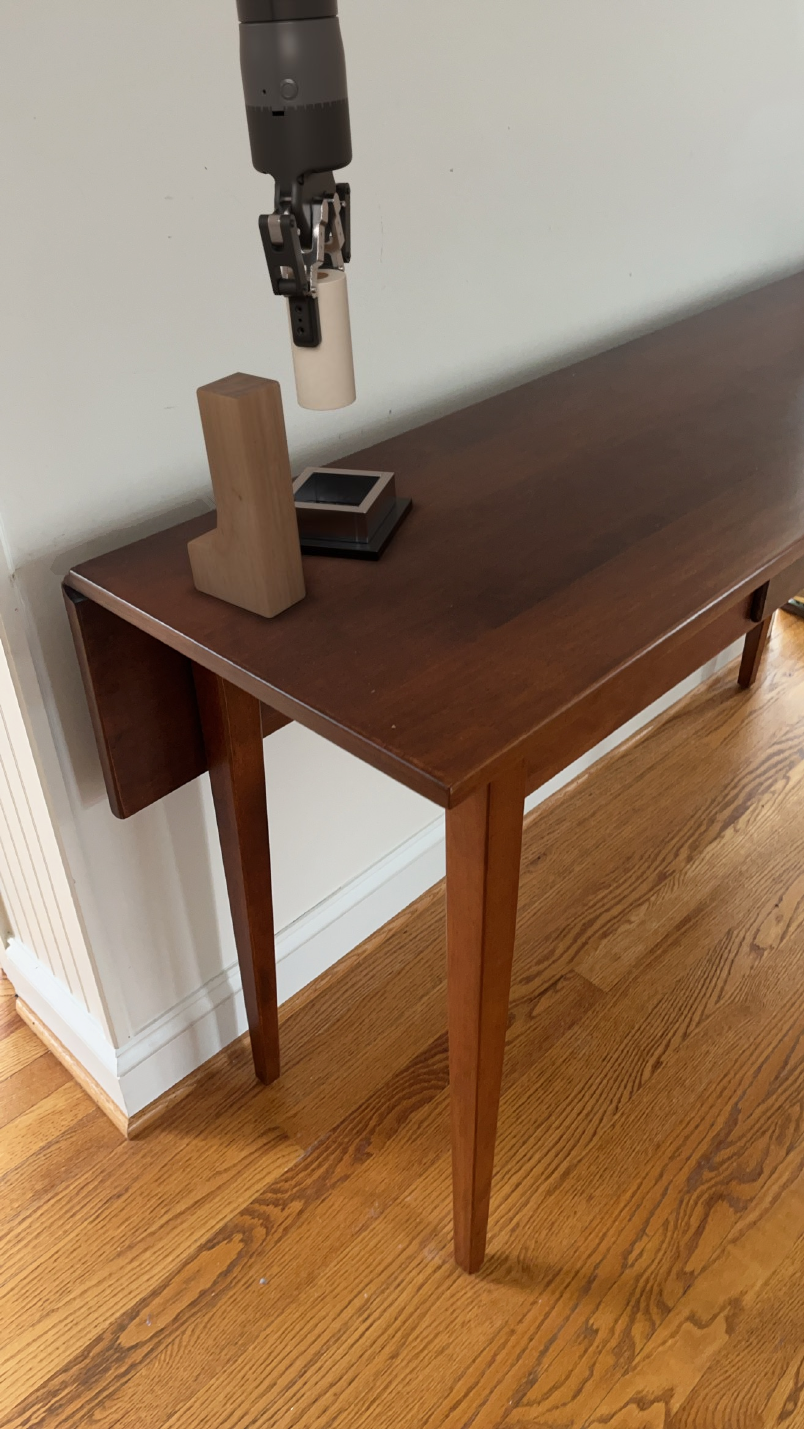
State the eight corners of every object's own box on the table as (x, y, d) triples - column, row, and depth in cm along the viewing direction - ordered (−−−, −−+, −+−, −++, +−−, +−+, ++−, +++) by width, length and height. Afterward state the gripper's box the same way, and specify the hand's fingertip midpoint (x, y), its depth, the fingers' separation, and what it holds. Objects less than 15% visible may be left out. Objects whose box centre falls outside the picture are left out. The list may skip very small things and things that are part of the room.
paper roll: (289, 409, 86) (273, 283, 80) (309, 389, 90) (296, 267, 84) (345, 412, 85) (333, 284, 79) (363, 391, 88) (354, 268, 83)
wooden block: (193, 590, 86) (151, 377, 76) (232, 569, 89) (197, 360, 78) (270, 621, 81) (236, 398, 71) (308, 597, 84) (281, 379, 74)
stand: (261, 550, 92) (254, 509, 89) (304, 499, 100) (300, 460, 98) (378, 561, 89) (374, 519, 86) (412, 507, 97) (410, 467, 95)
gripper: (284, 86, 80) (308, 310, 90) (206, 109, 69) (243, 361, 79) (375, 82, 78) (389, 312, 89) (309, 105, 68) (333, 365, 78)
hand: (319, 334), depth 84 cm, fingers closed on paper roll, 5 cm apart
